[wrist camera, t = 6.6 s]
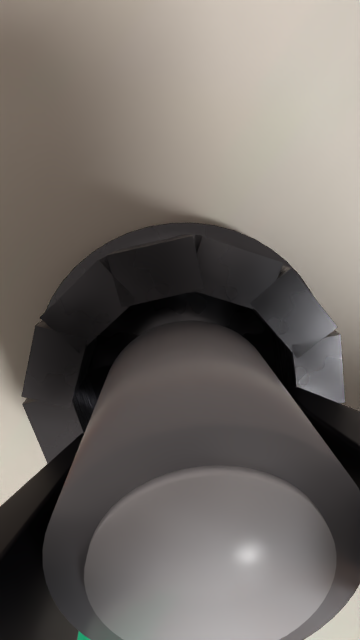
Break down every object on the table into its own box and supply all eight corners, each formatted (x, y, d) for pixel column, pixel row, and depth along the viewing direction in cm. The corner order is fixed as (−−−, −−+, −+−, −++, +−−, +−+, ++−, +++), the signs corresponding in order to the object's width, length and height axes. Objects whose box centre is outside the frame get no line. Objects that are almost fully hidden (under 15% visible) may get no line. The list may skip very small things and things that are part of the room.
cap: (260, 302, 9) (375, 395, 4) (282, 452, 11) (384, 651, 6) (81, 342, 9) (-21, 479, 4) (129, 484, 11) (96, 707, 6)
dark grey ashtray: (306, 191, 11) (349, 179, 8) (329, 450, 14) (365, 499, 11) (-3, 261, 11) (-54, 272, 8) (90, 500, 14) (74, 559, 12)
